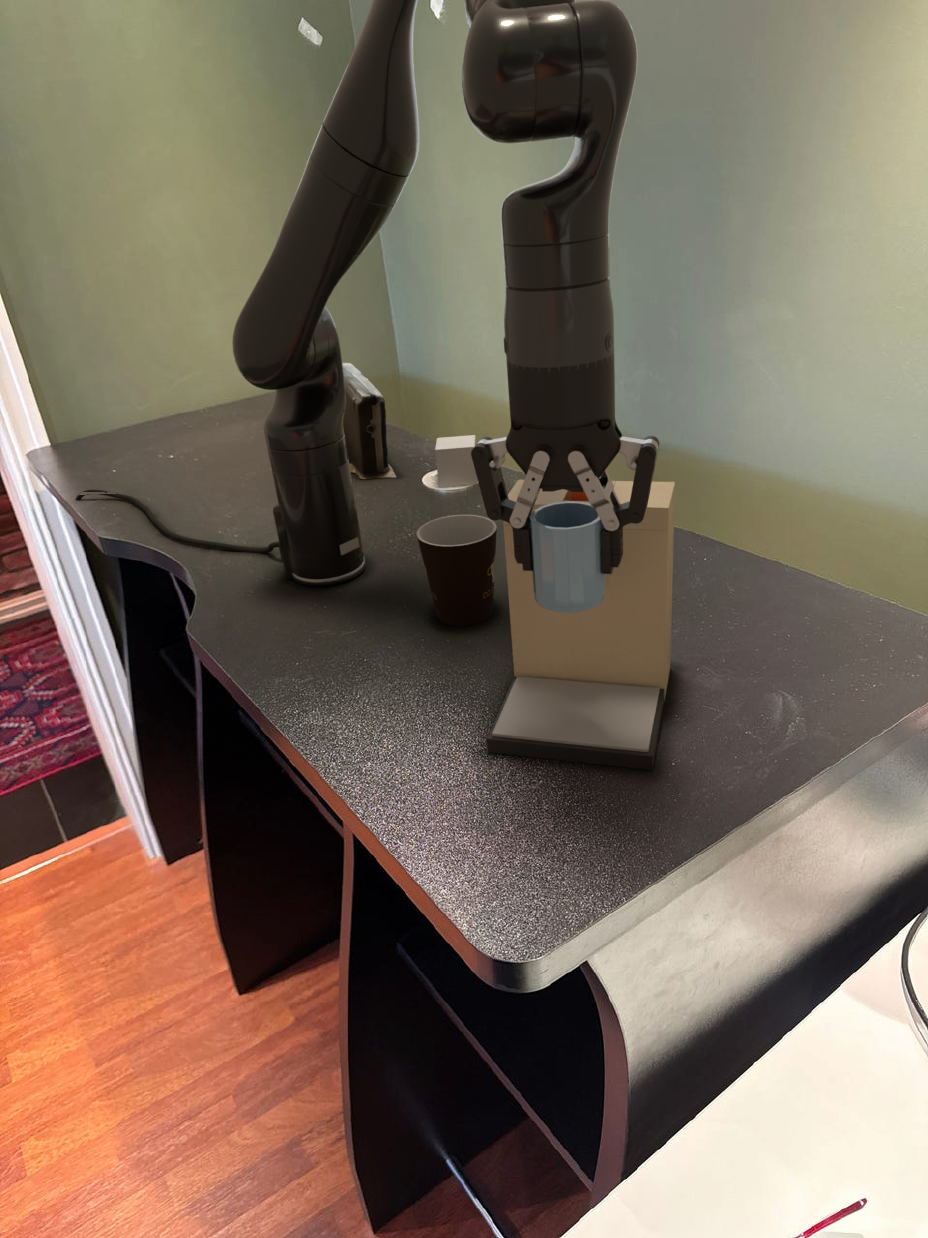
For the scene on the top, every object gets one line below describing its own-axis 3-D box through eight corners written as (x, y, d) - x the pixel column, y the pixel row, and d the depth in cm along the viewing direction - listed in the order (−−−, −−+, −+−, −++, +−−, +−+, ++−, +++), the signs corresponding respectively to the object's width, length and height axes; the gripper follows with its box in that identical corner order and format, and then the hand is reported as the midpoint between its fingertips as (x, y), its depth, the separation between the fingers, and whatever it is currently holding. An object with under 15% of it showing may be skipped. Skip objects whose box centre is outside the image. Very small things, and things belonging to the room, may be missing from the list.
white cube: (441, 474, 142) (437, 437, 139) (478, 471, 141) (475, 434, 138) (438, 487, 136) (434, 449, 133) (477, 484, 136) (474, 446, 133)
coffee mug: (477, 636, 94) (469, 551, 89) (411, 621, 98) (400, 539, 94) (529, 590, 103) (524, 510, 98) (466, 578, 107) (458, 501, 102)
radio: (396, 477, 142) (384, 384, 135) (343, 485, 141) (328, 392, 134) (377, 438, 162) (366, 355, 155) (330, 445, 161) (317, 362, 154)
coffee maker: (487, 752, 76) (468, 552, 67) (529, 657, 90) (518, 479, 81) (652, 770, 72) (655, 560, 63) (670, 668, 86) (675, 481, 76)
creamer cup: (542, 579, 74) (538, 500, 71) (610, 582, 72) (608, 501, 69) (528, 610, 69) (522, 528, 66) (599, 614, 68) (597, 530, 64)
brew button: (568, 509, 76) (568, 484, 75) (575, 496, 78) (574, 472, 77) (603, 510, 75) (603, 485, 74) (609, 497, 77) (608, 473, 76)
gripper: (670, 334, 63) (666, 551, 71) (475, 341, 67) (492, 545, 75) (659, 359, 56) (656, 594, 64) (445, 365, 61) (468, 585, 69)
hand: (568, 567), depth 70 cm, fingers closed on creamer cup, 5 cm apart
